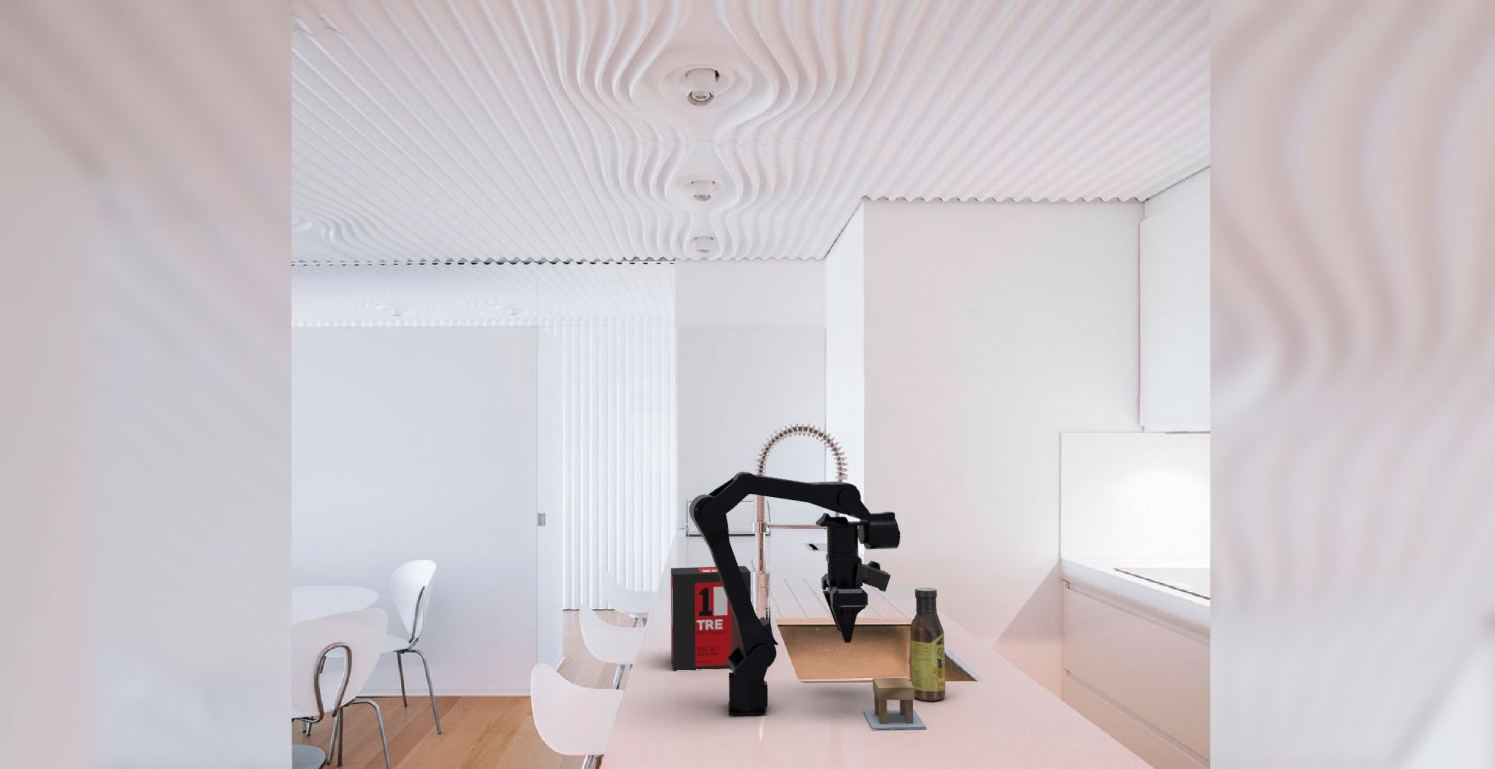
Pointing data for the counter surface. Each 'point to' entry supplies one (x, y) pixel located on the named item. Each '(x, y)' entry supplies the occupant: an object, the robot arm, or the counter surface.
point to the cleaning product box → (701, 619)
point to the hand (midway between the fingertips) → (844, 636)
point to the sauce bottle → (927, 648)
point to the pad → (893, 720)
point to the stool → (893, 697)
